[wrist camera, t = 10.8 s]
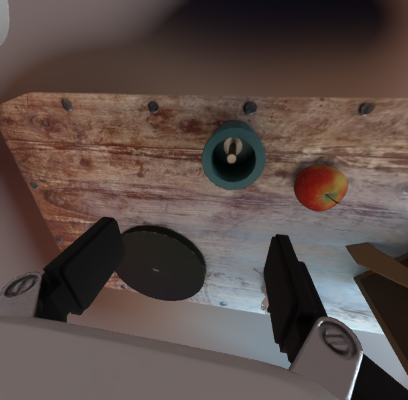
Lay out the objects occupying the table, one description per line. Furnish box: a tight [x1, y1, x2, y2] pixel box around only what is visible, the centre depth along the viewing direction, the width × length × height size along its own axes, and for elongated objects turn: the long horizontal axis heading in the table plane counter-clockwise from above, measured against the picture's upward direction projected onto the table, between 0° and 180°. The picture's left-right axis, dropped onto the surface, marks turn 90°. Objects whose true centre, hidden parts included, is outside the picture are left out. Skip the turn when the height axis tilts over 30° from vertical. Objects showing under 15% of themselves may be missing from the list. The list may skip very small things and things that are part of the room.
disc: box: [115, 226, 206, 301], centre depth 55 cm, size 30×30×3 cm
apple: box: [294, 165, 348, 211], centre depth 32 cm, size 8×8×10 cm
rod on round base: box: [224, 138, 242, 163], centre depth 31 cm, size 4×4×10 cm
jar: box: [202, 120, 266, 190], centre depth 31 cm, size 9×9×12 cm
